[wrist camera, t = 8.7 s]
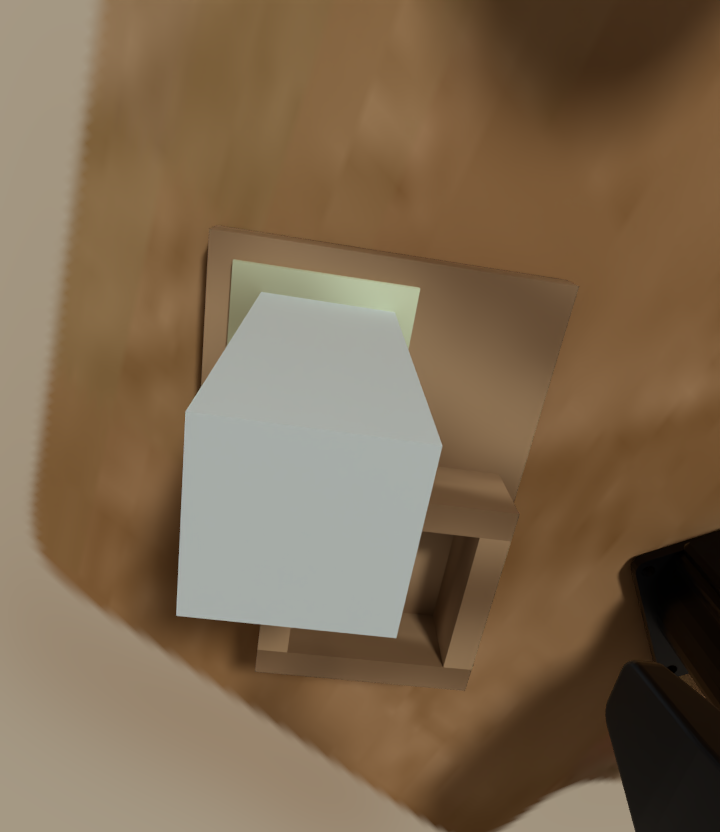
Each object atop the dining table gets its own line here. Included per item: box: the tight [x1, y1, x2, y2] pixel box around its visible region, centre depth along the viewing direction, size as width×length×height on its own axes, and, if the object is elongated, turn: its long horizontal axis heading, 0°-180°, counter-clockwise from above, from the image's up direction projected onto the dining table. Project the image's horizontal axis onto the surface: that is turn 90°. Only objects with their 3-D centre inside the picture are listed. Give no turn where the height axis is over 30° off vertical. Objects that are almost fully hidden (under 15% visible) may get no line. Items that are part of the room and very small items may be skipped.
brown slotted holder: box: [201, 225, 579, 691], centre depth 19 cm, size 14×11×4 cm
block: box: [176, 292, 442, 638], centre depth 14 cm, size 4×4×9 cm
